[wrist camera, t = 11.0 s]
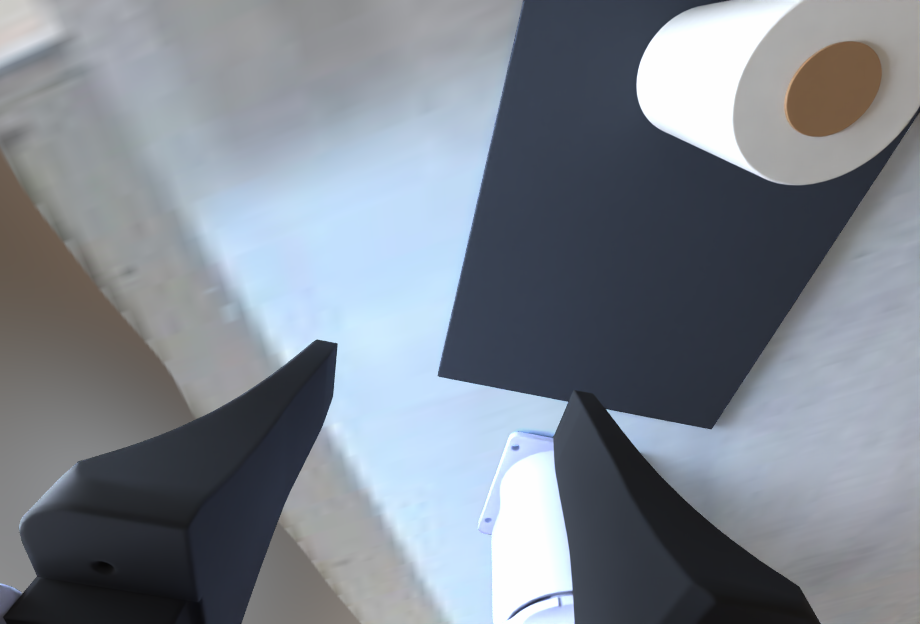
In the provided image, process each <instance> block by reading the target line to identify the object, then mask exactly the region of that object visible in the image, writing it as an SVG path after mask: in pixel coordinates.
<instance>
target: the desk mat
mask: <svg viewBox="0 0 920 624" xmlns="http://www.w3.org/2000/svg"><path fill="white" fill-rule="evenodd" d="M724 1H729V0H524V1H523V5H522V9H521V14H520V18H519V22H518V27H517V31H516V35H515V40H514V44H513V49H512V53H511V57H510V62H509V66H508V70H507V75H506V79H505V83H504V88H503V92H502V97H501V101H500V105H499V110H498V114H497V118H496V123H495V127H494V131H493V136H492V140H491V145H490V149H489V153H488V158H487V162H486V166H485V171H484V175H483V179H482V184H481V188H480V193H479V197H478V201H477V206H476V210H475V214H474V219H473V223H472V227H471V232H470V236H469V241H468V245H467V249H466V254H465V258H464V262H463V267H462V271H461V275H460V280H459V284H458V289H457V293H456V297H455V302H454V306H453V310H452V315H451V319H450V323H449V328H448V332H447V337H446V341H445V345H444V350H443V354H442V358H441V363H440V367H439V371H438V376H439V377H444V378H449V379H454V380H459V381H464V382H469V383H475V384H480V385H485V386H490V387H495V388H500V389H506V390H511V391H516V392H521V393H526V394H531V395H537V396H542V397H547V398H552V399H557V400H562V401H568V402H569V400H570V397H571V395H572V393H573V390H578V391H583V392H588V393H593V394H594V395H595V396H596V398H597V399H598V400H599V401H600V403H601V404H602V405H603V407H604V408H605V409H609V410H614V411H619V412H624V413H630V414H635V415H640V416H645V417H650V418H655V419H660V420H666V421H671V422H676V423H681V424H686V425H691V426H697V427H702V428H707V429H712V428H713V426H714V425H715V423H716V422H717V420H718V419H719V417H720V415H721V414H722V412H723V411H724V409H725V408H726V406H727V405H728V403H729V402H730V400H731V399H732V397H733V396H734V394H735V393H736V391H737V390H738V388H739V387H740V385H741V383H742V382H743V380H744V379H745V377H746V376H747V374H748V373H749V371H750V370H751V368H752V367H753V365H754V364H755V362H756V361H757V359H758V358H759V356H760V355H761V353H762V351H763V350H764V348H765V347H766V345H767V344H768V342H769V341H770V339H771V338H772V336H773V335H774V333H775V332H776V330H777V329H778V327H779V326H780V324H781V323H782V321H783V319H784V318H785V316H786V315H787V313H788V312H789V310H790V309H791V307H792V306H793V304H794V303H795V301H796V300H797V298H798V297H799V295H800V294H801V292H802V291H803V289H804V287H805V286H806V284H807V283H808V281H809V280H810V278H811V277H812V275H813V274H814V272H815V271H816V269H817V268H818V266H819V265H820V263H821V262H822V260H823V259H824V257H825V255H826V254H827V252H828V251H829V249H830V248H831V246H832V245H833V243H834V242H835V240H836V239H837V237H838V236H839V234H840V233H841V231H842V230H843V228H844V227H845V225H846V223H847V222H848V220H849V219H850V217H851V216H852V214H853V213H854V211H855V210H856V208H857V207H858V205H859V204H860V202H861V201H862V199H863V198H864V196H865V195H866V193H867V192H868V190H869V188H870V187H871V185H872V184H873V182H874V181H875V179H876V178H877V176H878V175H879V173H880V172H881V170H882V169H883V167H884V166H885V164H886V163H887V161H888V160H889V158H890V156H891V155H892V153H893V152H894V150H895V149H896V147H897V146H898V144H899V143H900V141H901V140H902V138H903V137H904V135H905V134H906V132H907V131H908V129H909V128H910V126H911V124H912V123H913V121H914V120H915V118H916V117H917V115H918V114H919V112H920V107H919V108H918V110H917V112H916V113H915V115H914V116H913V117H912V119H911V120H910V122H909V123H908V124H907V126H906V127H905V128H904V129H903V130H902V131H901V133H900V134H899V135H898V136H897V137H896V138H895V139H894V140H893V141H892V142H891V143H890V144H889V145H888V146H887V147H886V148H884V149H883V150H882V151H881V152H880V153H878V154H877V155H876V156H875V157H873V158H872V159H870V160H869V161H867V162H866V163H864V164H863V165H861V166H859V167H858V168H856V169H854V170H852V171H850V172H848V173H846V174H844V175H841V176H839V177H836V178H833V179H830V180H828V181H824V182H819V183H815V184H808V185H785V184H779V183H775V182H772V181H769V180H766V179H764V178H762V177H760V176H758V175H756V174H754V173H751V172H749V171H747V170H745V169H743V168H741V167H739V166H737V165H734V164H732V163H730V162H728V161H726V160H724V159H722V158H720V157H717V156H715V155H713V154H711V153H709V152H707V151H705V150H702V149H700V148H698V147H696V146H694V145H692V144H690V143H688V142H685V141H683V140H681V139H679V138H677V137H675V136H673V135H671V134H668V133H666V132H664V131H662V130H660V129H658V128H657V127H656V126H654V125H653V124H652V123H651V122H650V121H649V120H648V119H647V117H646V116H645V115H644V113H643V111H642V109H641V107H640V104H639V101H638V96H637V75H638V69H639V66H640V62H641V59H642V57H643V55H644V52H645V50H646V49H647V47H648V45H649V43H650V42H651V40H652V39H653V37H654V36H655V35H656V34H657V33H658V31H659V30H660V29H661V28H662V27H663V26H664V25H665V24H666V23H667V22H669V21H670V20H671V19H673V18H674V17H676V16H677V15H679V14H681V13H682V12H685V11H687V10H689V9H692V8H695V7H698V6H703V5H708V4H713V3H719V2H724Z"/></svg>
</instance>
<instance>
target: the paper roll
mask: <svg viewBox="0 0 920 624" xmlns="http://www.w3.org/2000/svg"><path fill="white" fill-rule="evenodd" d="M637 96H638V101H639V104H640V107H641V109H642V111H643V113H644V115H645V116H646V117H647V119H648V120H649V121H650V122H651V123H652V124H653V125H654V126H656V127H657V128H658V129H660V130H662V131H664V132H666V133H668V134H671V135H673V136H675V137H677V138H679V139H681V140H683V141H685V142H688V143H690V144H692V145H694V146H696V147H698V148H700V149H702V150H705V151H707V152H709V153H711V154H713V155H715V156H717V157H720V158H722V159H724V160H726V161H728V162H730V163H732V164H734V165H737V166H739V167H741V168H743V169H745V170H747V171H749V172H751V173H754V174H756V175H758V176H760V177H762V178H764V179H766V180H769V181H772V182H775V183H779V184H785V185H808V184H815V183H819V182H824V181H828V180H830V179H833V178H836V177H839V176H841V175H844V174H846V173H848V172H850V171H852V170H854V169H856V168H858V167H859V166H861V165H863V164H864V163H866V162H867V161H869V160H870V159H872V158H873V157H875V156H876V155H877V154H878V153H880V152H881V151H882V150H883V149H884V148H886V147H887V146H888V145H889V144H890V143H891V142H892V141H893V140H894V139H895V138H896V137H897V136H898V135H899V134H900V133H901V131H902V130H903V129H904V128H905V127H906V126H907V124H908V123H909V122H910V120H911V119H912V117H913V116H914V115H915V113H916V112H917V110H918V108H919V107H920V0H729V1H724V2H719V3H713V4H708V5H703V6H698V7H695V8H692V9H689V10H687V11H685V12H682V13H681V14H679V15H677V16H676V17H674V18H673V19H671V20H670V21H669V22H667V23H666V24H665V25H664V26H663V27H662V28H661V29H660V30H659V31H658V33H657V34H656V35H655V36H654V37H653V39H652V40H651V42H650V43H649V45H648V47H647V49H646V50H645V52H644V55H643V57H642V59H641V62H640V66H639V69H638V75H637Z"/></svg>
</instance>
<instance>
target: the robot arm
mask: <svg viewBox="0 0 920 624" xmlns="http://www.w3.org/2000/svg"><path fill="white" fill-rule="evenodd" d="M336 356H337V343H332V342H327V341H322V340H315V341H314V342H312V343H311V344H310V345H309V346H308V347H306V348H305V349H304V350H303V351H301V352H300V353H299V354H298V355H297V356H295V357H294V358H293V359H292V360H290V361H289V362H288V363H287V364H285V365H284V366H283V367H281V368H280V369H279V370H277V371H276V372H274V373H273V374H272V375H270V376H269V377H268V378H266V379H265V380H263V381H262V382H260V383H259V384H257V385H256V386H254V387H253V388H251V389H250V390H248V391H247V392H245V393H244V394H242V395H241V396H239V397H237V398H236V399H234V400H232V401H231V402H229V403H227V404H225V405H224V406H222V407H220V408H218V409H216V410H215V411H213V412H211V413H209V414H207V415H205V416H202V417H200V418H198V419H196V420H194V421H192V422H189V423H187V424H185V425H183V426H181V427H179V428H176V429H174V430H171V431H169V432H166V433H164V434H162V435H159V436H157V437H154V438H151V439H148V440H145V441H143V442H140V443H137V444H135V445H131V446H128V447H126V448H122V449H119V450H116V451H112V452H109V453H106V454H102V455H99V456H96V457H92V458H89V459H86V460H82V461H78V462H77V463H76V464H75V465H74V466H73V467H72V468H71V469H69V470H68V471H67V472H66V473H65V474H64V475H63V476H62V477H61V478H60V479H59V480H58V481H57V482H56V483H55V484H54V485H53V486H52V487H51V488H50V489H49V490H48V491H47V492H46V493H45V494H44V495H43V496H42V497H41V498H40V500H39V501H37V503H36V504H35V505H34V506H33V507H32V508H31V509H30V510H29V511H28V512H27V513H26V514H25V515H24V516H23V517H22V519H21V522H20V525H19V531H20V536H21V540H22V543H23V545H24V548H25V550H26V552H27V554H28V557H29V559H30V561H31V563H32V566H33V568H34V570H35V572H36V575H37V577H36V578H35V579H34V581H33V582H32V583H31V584H30V586H29V587H28V588H27V589H26V590H25V591H24V593H23V594H22V593H21V592H20V591H19V590H18V589H16V588H14V587H12V586H9V585H5V584H1V583H0V624H241V623H242V620H243V617H244V614H245V611H246V608H247V606H248V602H249V599H250V597H251V594H252V591H253V588H254V586H255V583H256V580H257V577H258V574H259V571H260V568H261V566H262V563H263V560H264V558H265V555H266V552H267V549H268V547H269V544H270V541H271V538H272V536H273V533H274V530H275V527H276V525H277V522H278V520H279V517H280V515H281V512H282V509H283V507H284V504H285V502H286V500H287V497H288V495H289V493H290V491H291V489H292V487H293V485H294V483H295V481H296V479H297V477H298V475H299V473H300V471H301V469H302V467H303V465H304V463H305V461H306V459H307V457H308V455H309V453H310V451H311V449H312V446H313V444H314V442H315V440H316V438H317V436H318V434H319V432H320V430H321V428H322V426H323V423H324V421H325V418H326V415H327V412H328V409H329V406H330V403H331V401H332V398H333V390H334V379H335V367H336ZM513 445H518V446H513ZM478 530H479V532H481V533H484V534H489V535H492V602H493V623H494V624H821V623H820V622H819V620H818V618H817V616H816V615H815V613H814V611H813V609H812V608H811V606H810V604H809V602H808V601H807V599H806V597H805V595H804V594H803V592H802V590H801V589H800V587H799V586H797V585H796V584H794V583H793V582H791V581H790V580H788V579H787V578H785V577H784V576H782V575H781V574H779V573H778V572H776V571H775V570H773V569H772V568H770V567H769V566H767V565H766V564H764V563H763V562H761V561H760V560H758V559H757V558H756V557H754V556H753V555H751V554H750V553H749V552H747V551H746V550H745V549H743V548H742V547H741V546H739V545H738V544H737V543H735V542H734V541H733V540H731V539H730V538H729V537H727V536H726V535H725V534H724V533H722V532H721V531H720V530H719V529H717V528H716V527H715V526H714V525H713V524H711V523H710V522H709V521H708V520H707V519H706V518H704V517H703V516H702V515H701V514H700V513H699V512H697V511H696V510H695V509H694V508H693V507H692V506H691V505H690V504H688V503H687V502H686V501H685V500H684V499H683V498H682V497H681V496H680V495H679V494H678V493H677V492H676V491H675V490H674V489H673V488H672V487H671V486H670V485H669V484H668V483H667V482H666V481H665V480H664V479H663V478H662V477H661V476H660V475H659V474H658V473H657V472H656V471H655V469H654V468H653V467H652V466H651V465H650V464H649V463H648V462H647V460H646V459H645V458H644V457H643V456H642V455H641V453H640V452H639V451H638V450H637V449H636V448H635V446H634V445H633V444H632V443H631V441H630V440H629V439H628V438H627V436H626V435H625V434H624V433H623V431H622V430H621V429H620V427H619V426H618V425H617V424H616V422H615V421H614V420H613V418H612V417H611V416H610V414H609V413H608V412H607V410H606V409H605V408H604V407H603V405H602V404H601V403H600V401H599V400H598V399H597V398H596V396H595V395H594V394H593V393H588V392H583V391H578V390H573V393H572V395H571V397H570V400H569V402H568V404H567V407H566V409H565V411H564V414H563V416H562V418H561V421H560V423H559V426H558V428H557V430H556V433H555V435H554V437H553V438H550V437H545V436H539V435H534V434H529V433H523V432H513V433H512V434H511V435H510V436H509V439H508V441H507V444H506V447H505V450H504V453H503V455H502V458H501V461H500V464H499V467H498V469H497V472H496V475H495V478H494V481H493V483H492V486H491V489H490V492H489V494H488V497H487V500H486V503H485V506H484V508H483V511H482V514H481V517H480V520H479V522H478Z"/></svg>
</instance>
